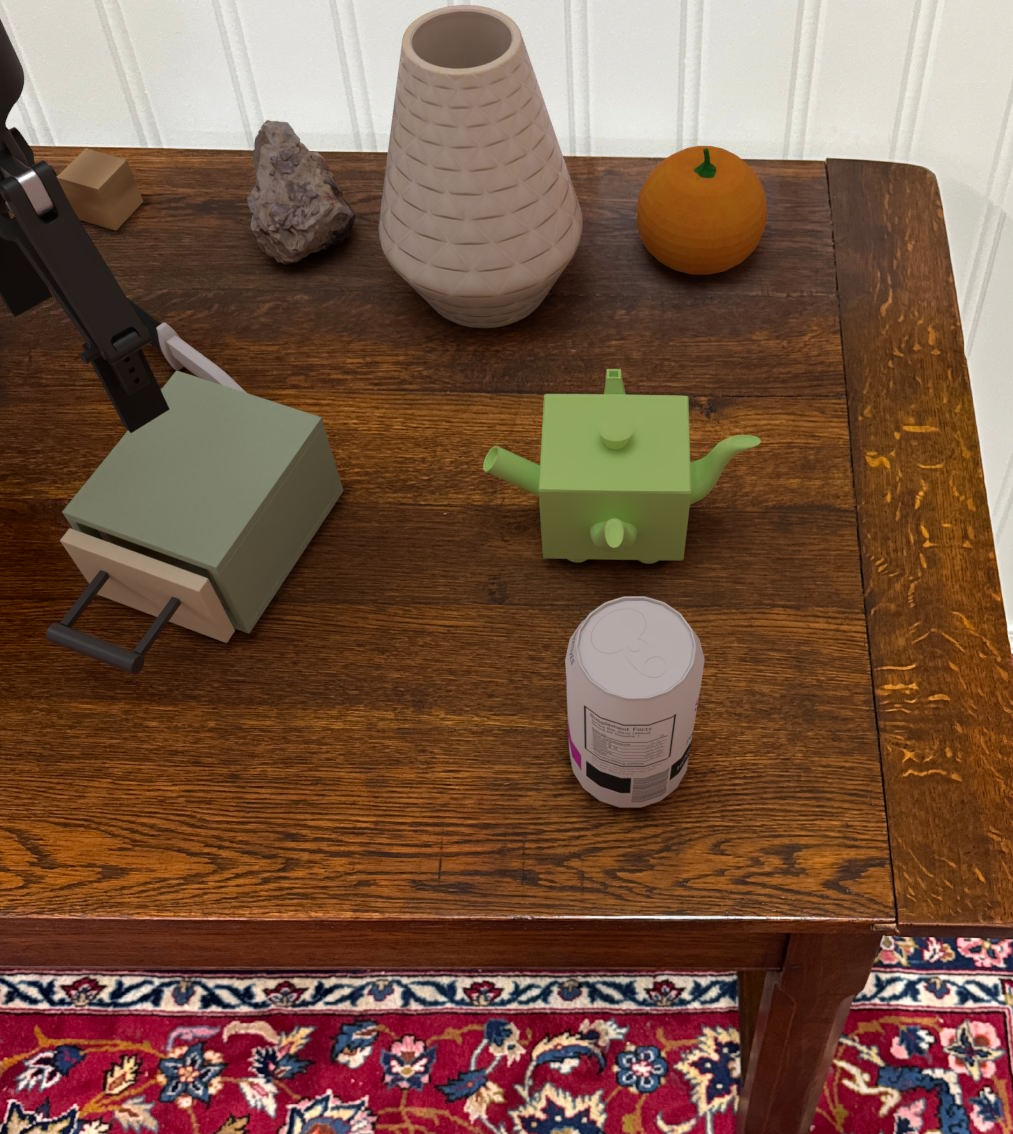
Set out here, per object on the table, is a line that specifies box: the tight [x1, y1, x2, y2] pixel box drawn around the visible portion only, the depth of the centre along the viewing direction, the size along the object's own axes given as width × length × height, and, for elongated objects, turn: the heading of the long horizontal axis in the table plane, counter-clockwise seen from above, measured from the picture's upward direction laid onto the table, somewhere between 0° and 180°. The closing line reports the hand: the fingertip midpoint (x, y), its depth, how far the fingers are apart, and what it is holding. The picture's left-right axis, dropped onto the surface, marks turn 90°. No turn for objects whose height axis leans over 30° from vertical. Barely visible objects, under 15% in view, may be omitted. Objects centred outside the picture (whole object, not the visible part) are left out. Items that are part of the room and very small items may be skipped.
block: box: [56, 147, 144, 232], centre depth 107 cm, size 5×5×5 cm
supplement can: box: [564, 595, 706, 808], centre depth 72 cm, size 8×8×15 cm
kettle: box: [482, 368, 762, 564], centre depth 84 cm, size 15×14×11 cm
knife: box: [127, 297, 247, 393], centre depth 95 cm, size 25×2×5 cm, turn 50°
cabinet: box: [61, 370, 344, 634], centre depth 85 cm, size 15×13×9 cm
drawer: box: [45, 527, 236, 675], centre depth 83 cm, size 20×11×7 cm, turn 157°
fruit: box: [636, 145, 768, 276], centre depth 101 cm, size 12×12×10 cm
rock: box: [246, 119, 357, 265], centre depth 103 cm, size 9×12×10 cm
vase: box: [377, 4, 584, 329], centre depth 93 cm, size 17×17×23 cm
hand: (87, 359), depth 70 cm, fingers open, 13 cm apart
